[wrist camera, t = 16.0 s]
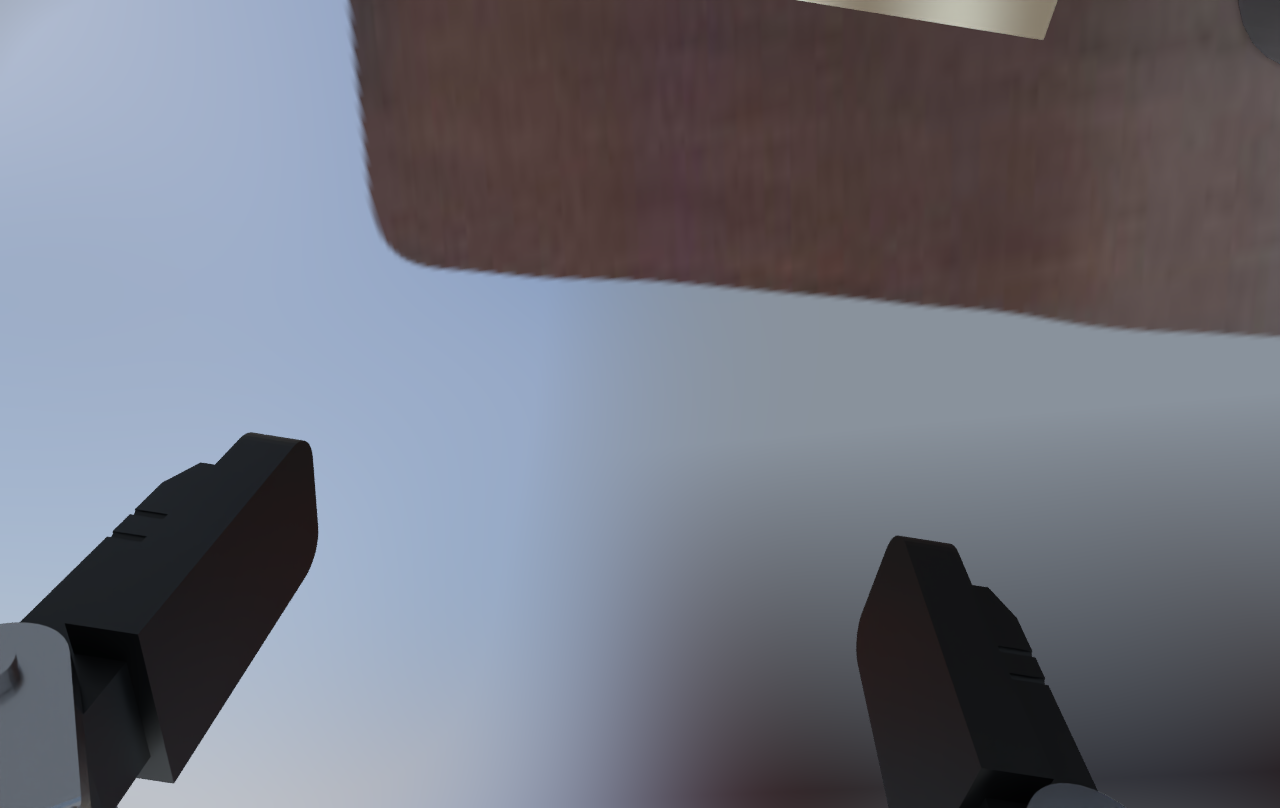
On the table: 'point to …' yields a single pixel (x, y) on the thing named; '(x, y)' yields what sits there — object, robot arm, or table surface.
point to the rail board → (966, 13)
